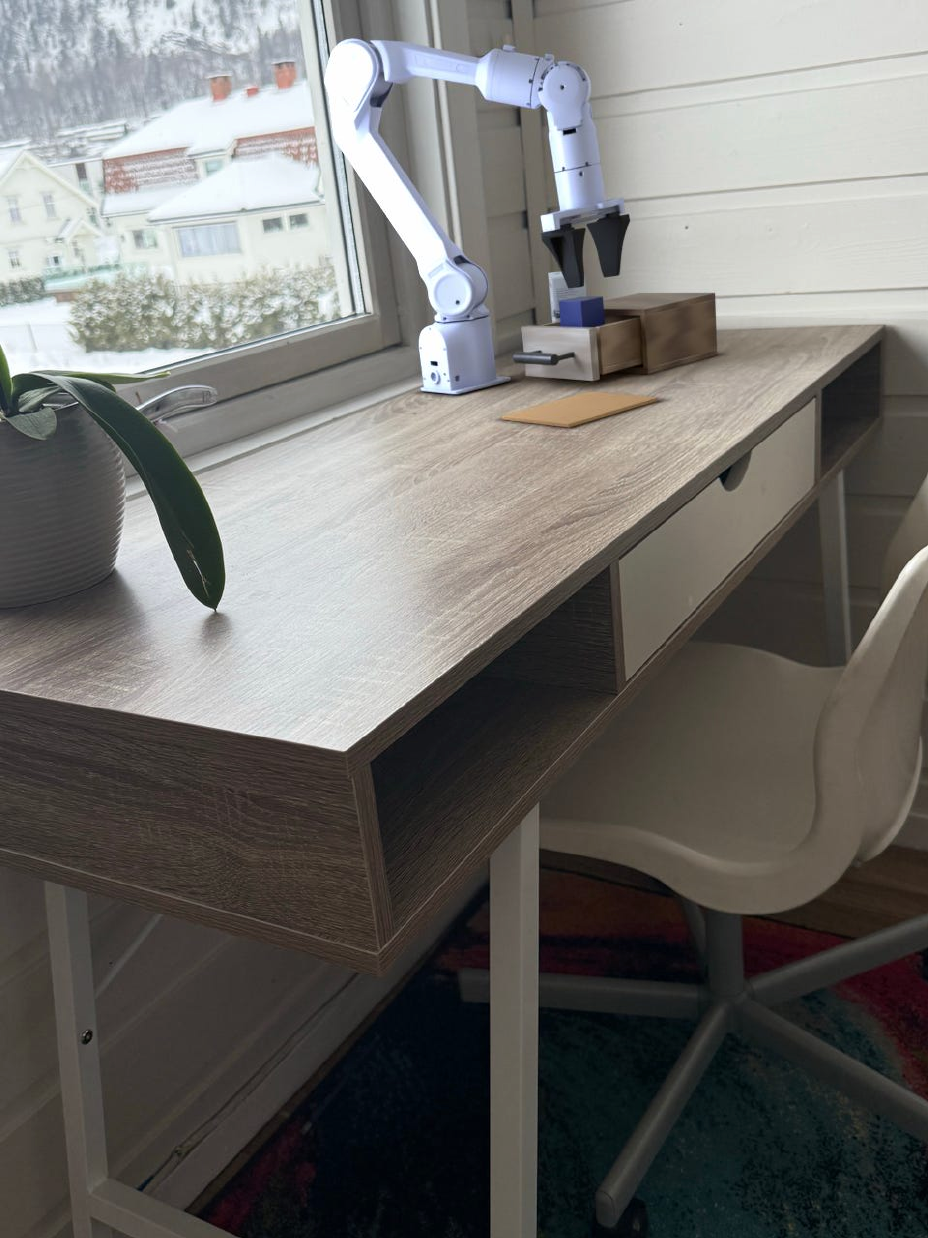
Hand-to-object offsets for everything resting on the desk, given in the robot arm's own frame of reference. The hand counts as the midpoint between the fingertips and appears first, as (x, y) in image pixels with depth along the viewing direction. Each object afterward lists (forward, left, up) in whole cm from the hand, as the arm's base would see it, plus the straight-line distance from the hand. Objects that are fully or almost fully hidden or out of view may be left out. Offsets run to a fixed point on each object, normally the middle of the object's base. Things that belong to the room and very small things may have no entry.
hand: (594, 281), depth 145 cm
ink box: (+10, +15, -12) cm, 22 cm away
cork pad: (-17, -14, -12) cm, 25 cm away
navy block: (-2, 0, -10) cm, 10 cm away
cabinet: (+9, 0, -12) cm, 15 cm away
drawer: (-3, 0, -11) cm, 11 cm away
